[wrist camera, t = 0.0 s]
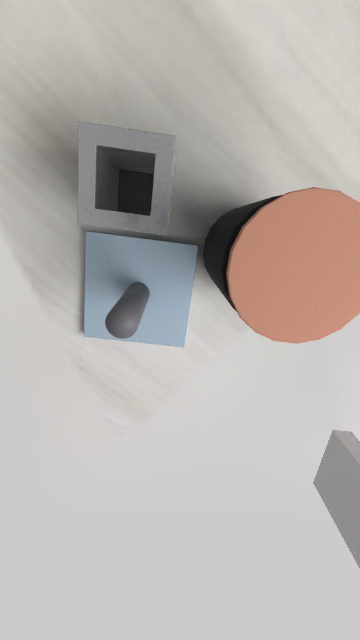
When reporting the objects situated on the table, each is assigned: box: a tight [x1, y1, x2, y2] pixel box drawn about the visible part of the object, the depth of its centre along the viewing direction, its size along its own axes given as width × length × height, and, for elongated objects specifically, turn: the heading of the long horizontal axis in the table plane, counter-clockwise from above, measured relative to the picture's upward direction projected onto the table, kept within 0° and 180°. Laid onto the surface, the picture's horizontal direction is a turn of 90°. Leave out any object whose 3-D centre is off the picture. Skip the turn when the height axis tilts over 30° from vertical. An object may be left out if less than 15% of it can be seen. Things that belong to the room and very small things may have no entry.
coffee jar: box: [203, 187, 360, 343], centre depth 27 cm, size 11×11×18 cm
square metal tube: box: [78, 122, 176, 235], centre depth 29 cm, size 8×8×10 cm
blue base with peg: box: [84, 231, 198, 347], centre depth 31 cm, size 14×14×13 cm
